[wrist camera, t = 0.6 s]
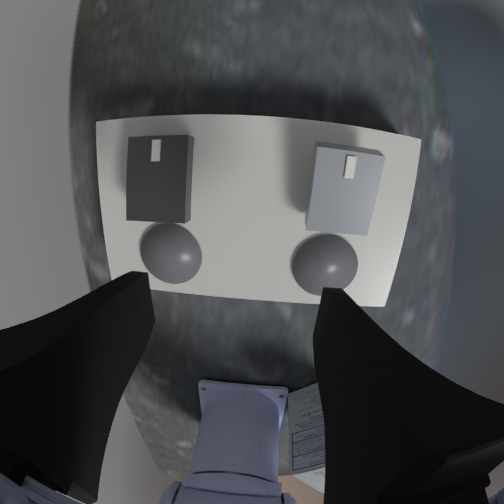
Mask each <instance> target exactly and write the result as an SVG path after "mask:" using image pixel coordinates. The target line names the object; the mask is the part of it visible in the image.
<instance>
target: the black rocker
mask: <svg viewBox="0 0 504 504" xmlns="http://www.w3.org/2000/svg"><path fill="white" fill-rule="evenodd" d="M193 150H194V137H193V136H190V135H157V136H136V137H128V152H127V176H126V221H147V222H166V223H184V224H185V223H187V222H188V221H190V220H191V191H192V168H193Z"/></svg>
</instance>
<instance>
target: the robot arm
mask: <svg viewBox="0 0 504 504" xmlns="http://www.w3.org/2000/svg"><path fill="white" fill-rule="evenodd" d="M154 322H155V317H154V311H153V305H152V298H151V291H150V284H149V276H148V272H139V271H130V272H128V273H125V274H123V275H121V276H119V277H117V278H116V279H114V280H112V281H110V282H108V283H106V284H105V285H103V286H101V287H99V288H97V289H96V290H94V291H92V292H90V293H88V294H87V295H85V296H83V297H81V298H79V299H77V300H75V301H73V302H71V303H69V304H67V305H65V306H63V307H61V308H59V309H57V310H55V311H53V312H51V313H48V314H46V315H43V316H41V317H39V318H36V319H33V320H31V321H28V322H25V323H21V324H19V325H16V326H12V327H9V328H6V329H2V330H0V504H81V503H79V502H76V501H74V500H72V499H70V498H68V497H66V496H64V495H68V496H70V497H72V498H74V499H77V500H79V501H81V502H83V503H86V504H92V503H94V502H96V501H97V498H98V488H99V481H100V474H101V467H102V463H103V458H104V452H105V448H106V444H107V440H108V437H109V433H110V429H111V425H112V422H113V419H114V416H115V413H116V410H117V407H118V404H119V401H120V399H121V396H122V394H123V392H124V390H125V388H126V386H127V384H128V382H129V380H130V378H131V376H132V374H133V372H134V370H135V368H136V366H137V364H138V362H139V360H140V358H141V356H142V354H143V352H144V350H145V348H146V345H147V343H148V340H149V337H150V335H151V332H152V329H153V326H154ZM313 350H314V364H315V370H316V376H317V382H318V387H319V393H320V399H321V405H322V411H323V418H324V428H325V487H324V504H504V488H503V489H502V490H500V491H499V492H498V493H497V494H496V495H494V496H492V497H490V498H487V495H486V491H485V488H486V487H488V486H489V485H490V478H489V475H488V473H490V472H491V471H492V470H493V469H494V468H495V467H496V466H498V465H499V464H500V463H501V462H503V461H504V404H501V403H499V402H496V401H493V400H491V399H488V398H485V397H483V396H481V395H478V394H476V393H474V392H472V391H470V390H468V389H466V388H464V387H462V386H460V385H458V384H456V383H454V382H453V381H451V380H449V379H447V378H446V377H444V376H443V375H441V374H439V373H438V372H436V371H435V370H433V369H431V368H430V367H428V366H427V365H425V364H424V363H423V362H421V361H420V360H419V359H417V358H416V357H415V356H413V355H412V354H411V353H409V352H408V351H407V350H405V349H404V348H403V347H402V346H400V345H399V344H398V343H397V342H396V341H395V340H394V339H392V338H391V337H390V336H389V335H388V334H387V333H386V332H385V331H384V330H382V329H381V328H380V327H379V326H378V325H377V324H376V323H375V322H374V321H373V320H372V319H371V318H370V317H369V316H368V315H367V314H366V313H365V312H364V311H363V310H362V309H361V308H360V307H359V306H358V304H357V303H356V302H355V301H354V300H353V299H352V298H351V297H350V296H349V295H348V294H347V293H346V292H345V291H344V290H343V289H342V288H331V287H323V290H322V295H321V300H320V305H319V310H318V315H317V319H316V324H315V329H314V333H313ZM198 389H199V397H200V405H201V412H202V418H201V423H200V427H199V431H198V436H197V440H196V445H195V449H194V454H193V458H192V463H191V467H190V472H189V473H184V475H183V479H182V482H178V481H175V482H173V483H172V484H171V485H169V486H167V487H166V488H165V490H164V491H163V493H162V496H161V498H160V501H159V504H297V503H296V501H295V499H294V498H293V497H291V495H290V494H289V493H281V483H278V455H279V430H280V426H281V422H282V418H283V414H284V409H285V405H286V401H287V397H288V388H286V387H279V386H263V385H250V384H239V383H229V382H220V381H212V380H204V379H202V380H199V382H198ZM55 490H56V491H58V492H60V493H62V494H64V495H62V494H60V493H57V492H56V491H55Z"/></svg>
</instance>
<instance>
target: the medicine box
mask: <svg viewBox="0 0 504 504" xmlns="http://www.w3.org/2000/svg"><path fill="white" fill-rule="evenodd" d="M288 417H289V466H290V474H291V475H292V476H294V477H296V478H297V479H299V480H301V481H302V482H304V483H306V484H307V485H309V486H311V487H313V488H314V489H316V490H318V491H320V492H322V493H324V487H325V428H324V418H323V411H322V405H321V399H320V393H319V387H318V382H317V383H315V384H312V385H309V386H307V387H304V388H302V389H299V390H297V391H294V392H291V393H288Z"/></svg>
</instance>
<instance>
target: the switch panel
mask: <svg viewBox="0 0 504 504" xmlns="http://www.w3.org/2000/svg"><path fill="white" fill-rule="evenodd" d="M157 135H190V136H193V137H194V150H193V168H192V191H191V220H190V221H188V222H187V223H185V224H184V223H166V222H147V221H126V176H127V152H128V137H136V136H157ZM315 141H319V142H327V143H335V144H343V145H350V146H356V147H363V148H369V149H375V150H379V151H380V152H381V153H382V154H383V155H384V156H385V161H384V166H383V171H382V175H381V180H380V185H379V189H378V193H377V198H376V202H375V206H374V210H373V214H372V218H371V222H370V226H369V230H368V234H367V236H363V235H353V234H342V233H331V232H319V231H308V230H306V226H305V214H306V207H307V200H308V192H309V184H310V176H311V168H312V160H313V151H314V143H315ZM96 146H97V168H98V182H99V194H100V204H101V213H102V222H103V230H104V237H105V244H106V250H107V256H108V262H109V268H110V273H111V279H112V280H114V279H116V278H117V277H119V276H121V275H123V274H125V273H128V272H130V271H139V272H148V276H149V284H150V289H153V290H161V291H170V292H179V293H188V294H197V295H207V296H218V297H229V298H240V299H252V300H265V301H278V302H293V303H309V304H320V300H321V295H322V290H323V287H331V288H342V289H343V290H344V291H345V292H346V293H347V294H348V295H349V296H350V297H351V298H352V299H353V300H354V301H355V302H356V303H357V304H358V306H377V307H385V303H386V300H387V297H388V294H389V291H390V287H391V284H392V281H393V277H394V274H395V270H396V267H397V263H398V259H399V255H400V252H401V248H402V244H403V239H404V235H405V231H406V227H407V222H408V217H409V213H410V208H411V203H412V197H413V192H414V186H415V181H416V174H417V168H418V161H419V154H420V146H421V139H417V138H413V137H409V136H404V135H400V134H395V133H390V132H385V131H380V130H375V129H369V128H364V127H358V126H351V125H345V124H338V123H331V122H323V121H315V120H306V119H296V118H285V117H271V116H254V115H223V114H194V115H164V116H147V117H134V118H123V119H114V120H105V121H97V122H96Z"/></svg>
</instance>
